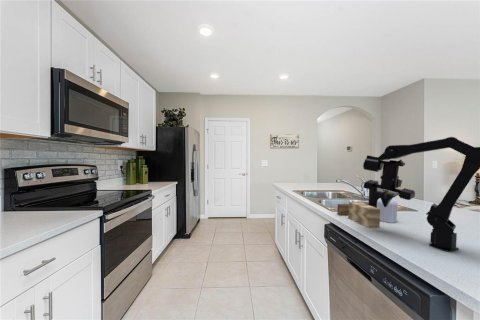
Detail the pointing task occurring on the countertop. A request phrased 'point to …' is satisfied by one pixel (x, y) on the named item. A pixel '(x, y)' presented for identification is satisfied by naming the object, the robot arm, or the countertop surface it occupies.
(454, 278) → the countertop surface
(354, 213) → the bar
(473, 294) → the countertop surface
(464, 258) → the countertop surface
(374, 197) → the aerosol can
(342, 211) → the stop block
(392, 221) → the soap bottle
